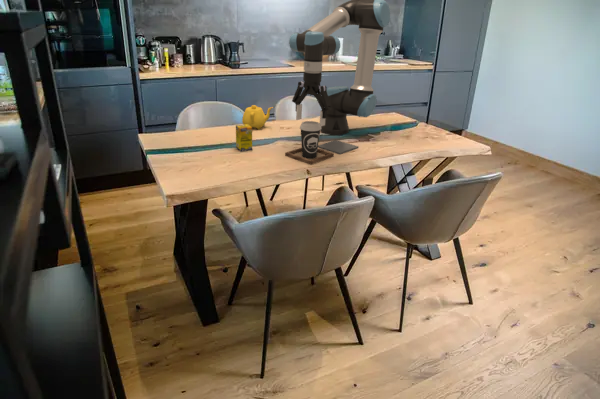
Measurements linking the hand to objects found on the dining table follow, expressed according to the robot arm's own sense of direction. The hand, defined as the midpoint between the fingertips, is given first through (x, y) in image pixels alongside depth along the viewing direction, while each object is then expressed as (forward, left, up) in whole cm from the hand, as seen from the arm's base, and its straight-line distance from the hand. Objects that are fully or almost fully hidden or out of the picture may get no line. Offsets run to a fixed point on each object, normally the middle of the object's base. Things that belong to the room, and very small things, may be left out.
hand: (310, 122), depth 188 cm
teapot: (-50, +14, -16) cm, 54 cm away
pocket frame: (0, 0, -16) cm, 15 cm away
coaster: (+1, +19, -16) cm, 25 cm away
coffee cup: (0, 0, -16) cm, 16 cm away
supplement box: (-27, -15, -16) cm, 35 cm away
